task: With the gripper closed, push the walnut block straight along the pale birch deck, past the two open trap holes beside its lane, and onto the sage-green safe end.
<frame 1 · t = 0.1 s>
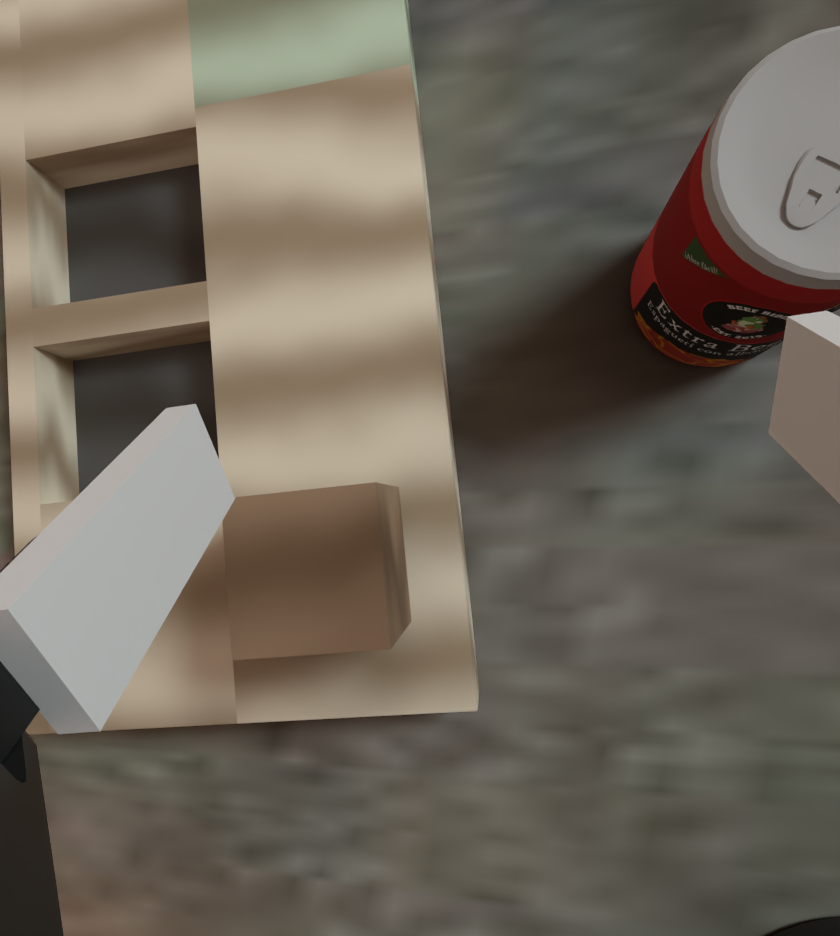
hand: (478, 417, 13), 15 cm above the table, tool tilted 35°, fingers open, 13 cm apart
walnut block: (340, 559, 26), point 3 cm above the table, touching trap deck
trap deck: (236, 320, 30), on the table
canned food: (707, 293, 27), on the table
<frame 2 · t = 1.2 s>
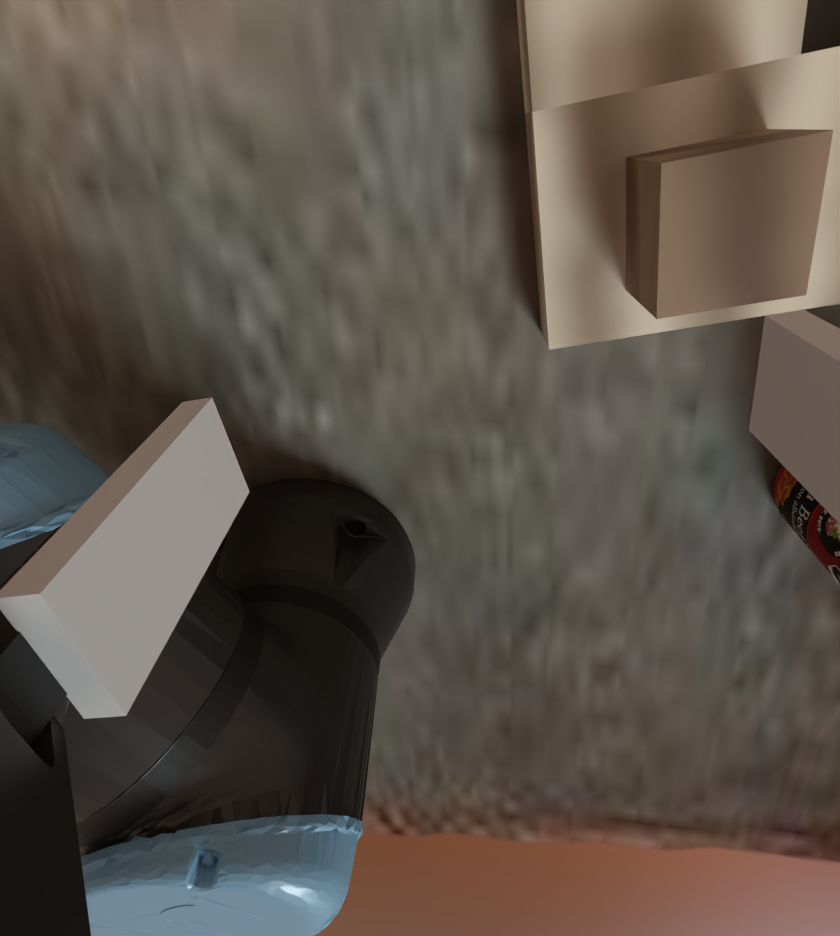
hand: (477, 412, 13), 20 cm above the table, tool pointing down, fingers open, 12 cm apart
walnut block: (691, 215, 27), point 3 cm above the table, touching trap deck
canned food: (830, 476, 37), on the table
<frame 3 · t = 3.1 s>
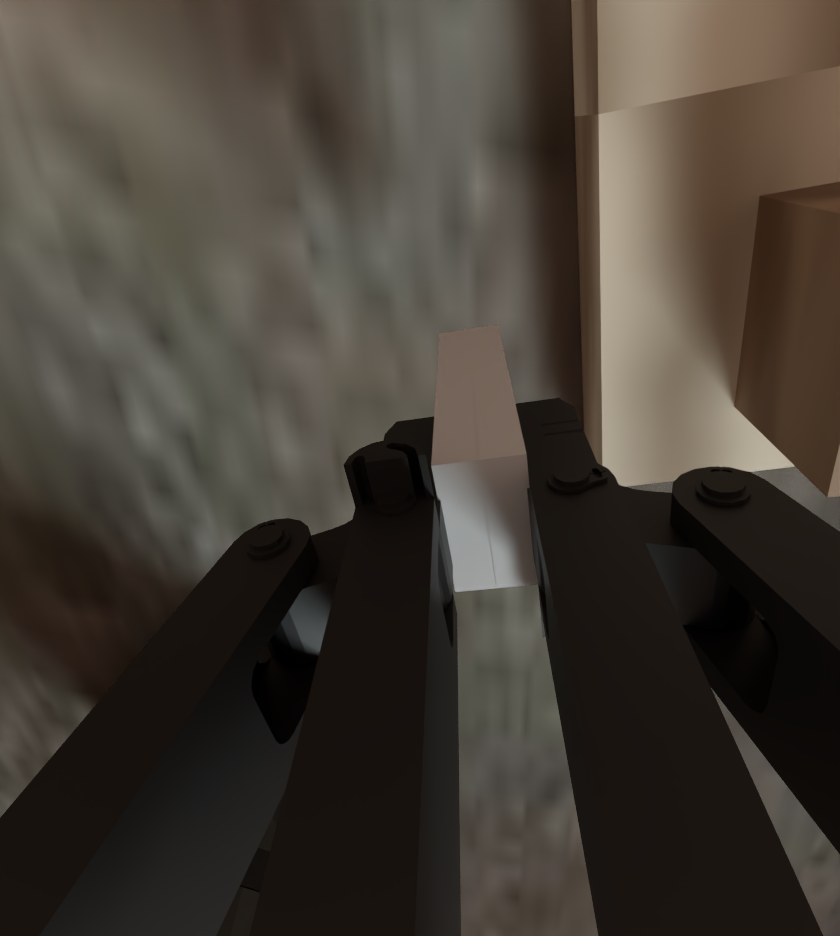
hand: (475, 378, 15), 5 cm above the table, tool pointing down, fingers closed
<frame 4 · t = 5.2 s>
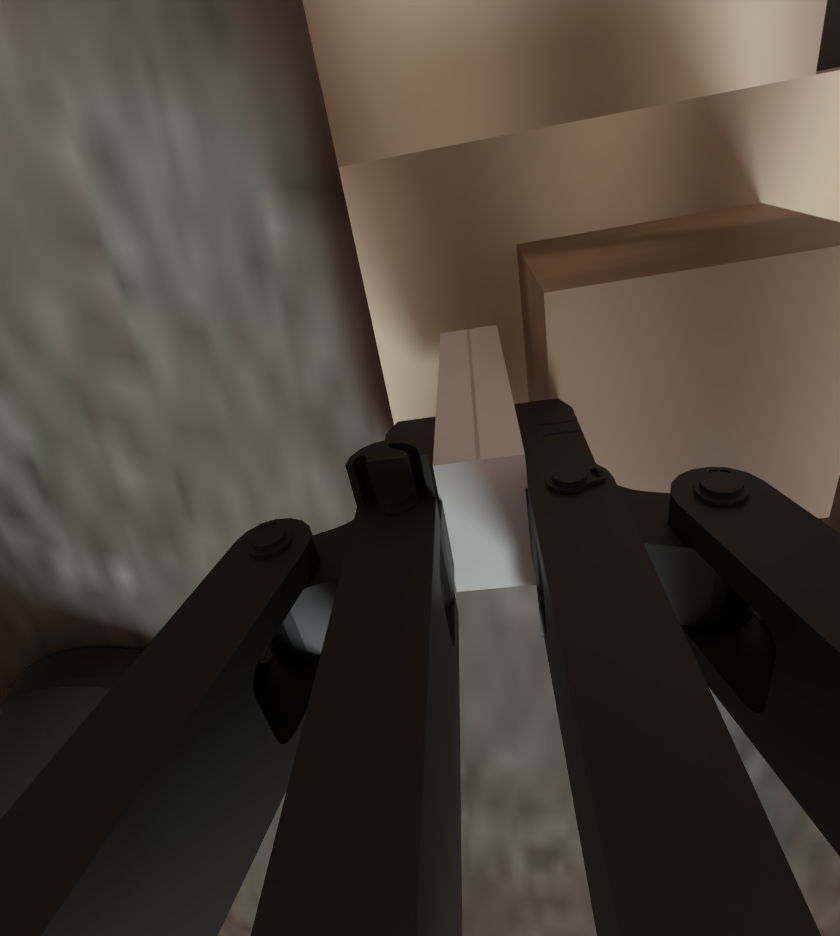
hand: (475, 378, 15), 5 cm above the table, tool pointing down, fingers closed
walnut block: (632, 337, 16), point 3 cm above the table, touching gripper, trap deck
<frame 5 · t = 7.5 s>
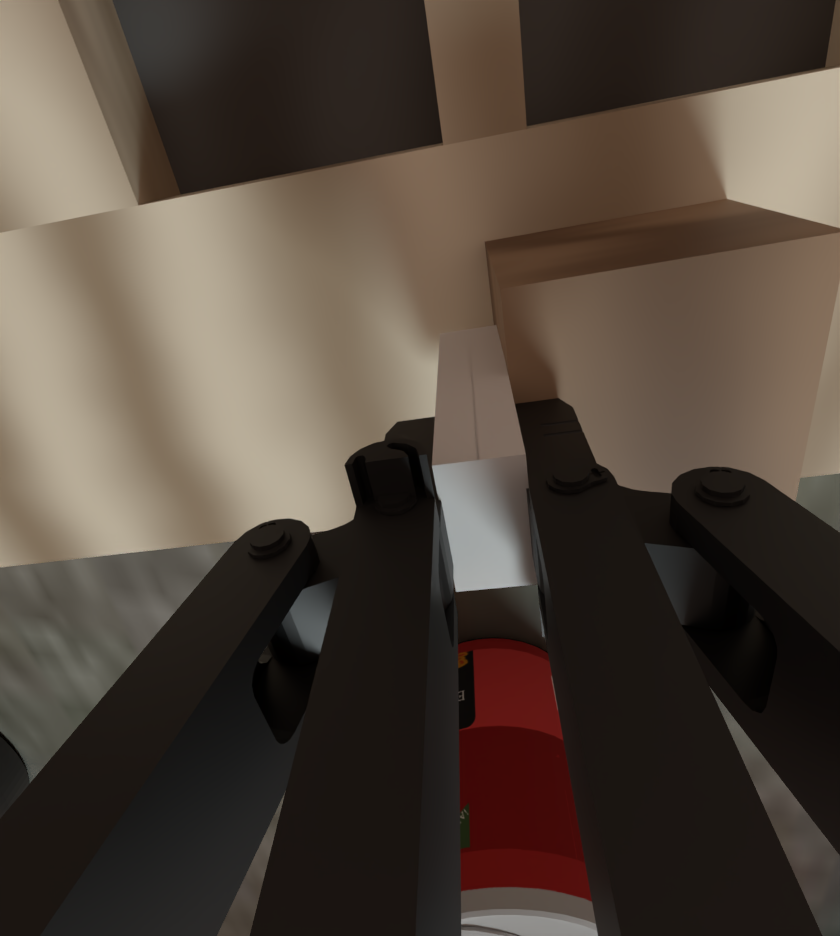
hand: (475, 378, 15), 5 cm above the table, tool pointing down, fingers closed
walnut block: (603, 334, 16), point 3 cm above the table, touching gripper, trap deck
trap deck: (479, 135, 16), on the table
canned food: (494, 683, 29), on the table
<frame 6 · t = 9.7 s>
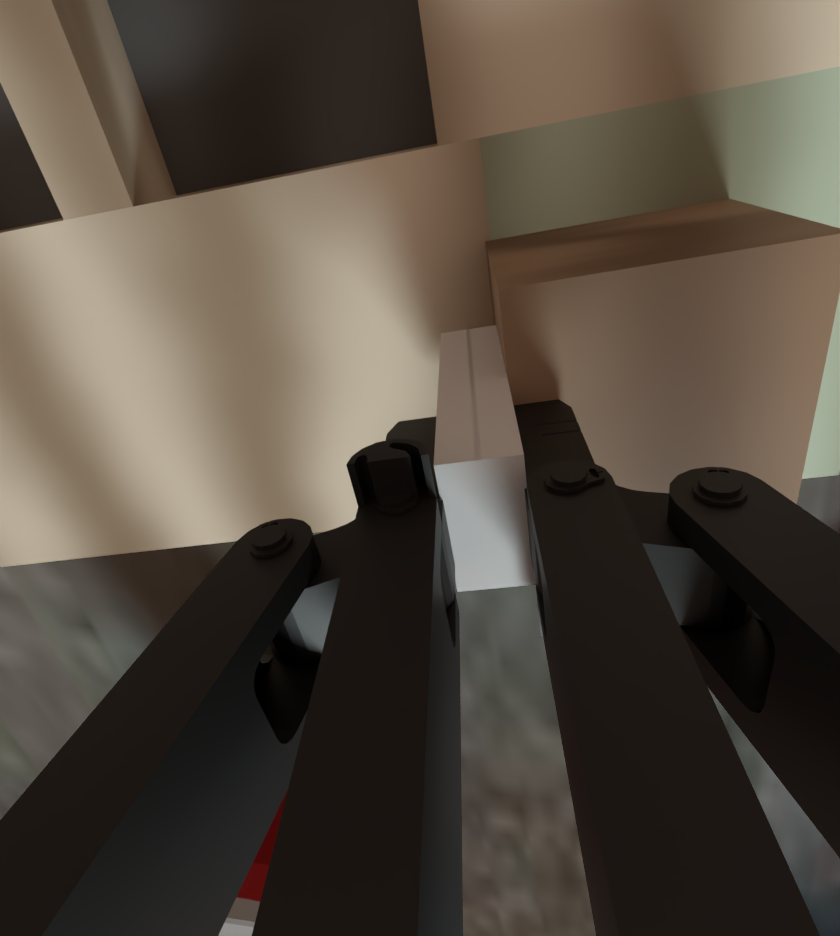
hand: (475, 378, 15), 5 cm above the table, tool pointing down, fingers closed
walnut block: (604, 334, 16), point 3 cm above the table, touching gripper, trap deck
trap deck: (150, 200, 17), on the table
canned food: (305, 697, 30), on the table
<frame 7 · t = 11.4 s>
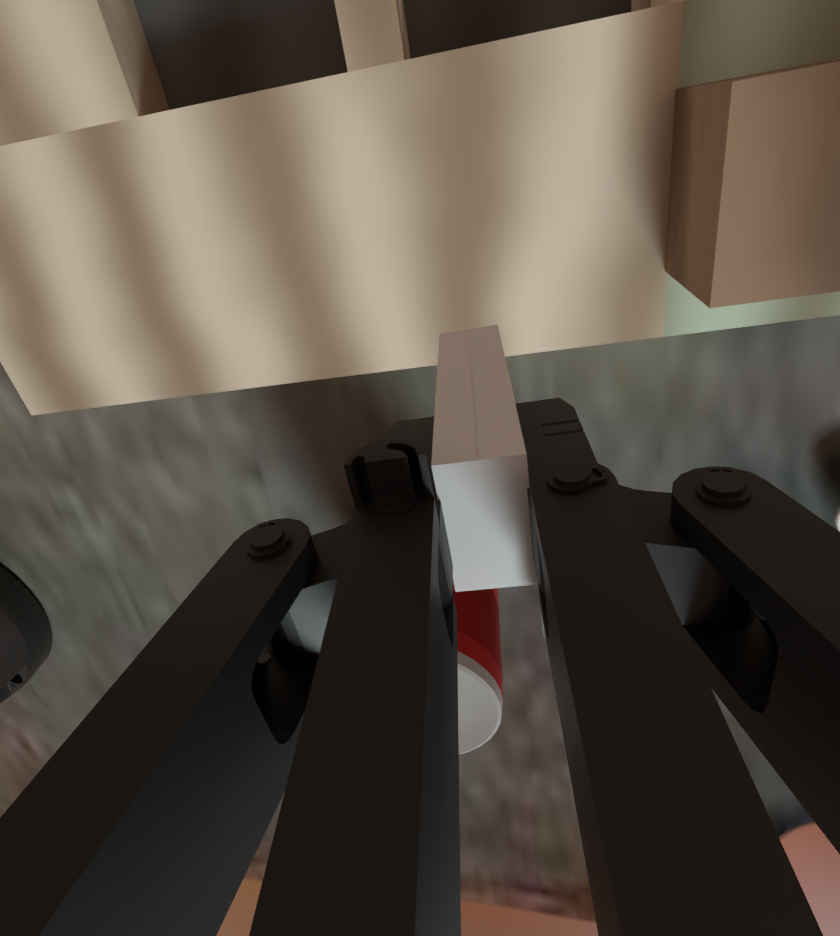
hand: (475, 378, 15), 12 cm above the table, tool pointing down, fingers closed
walnut block: (758, 172, 20), point 3 cm above the table, touching trap deck
trap deck: (387, 71, 22), on the table
canned food: (431, 548, 35), on the table
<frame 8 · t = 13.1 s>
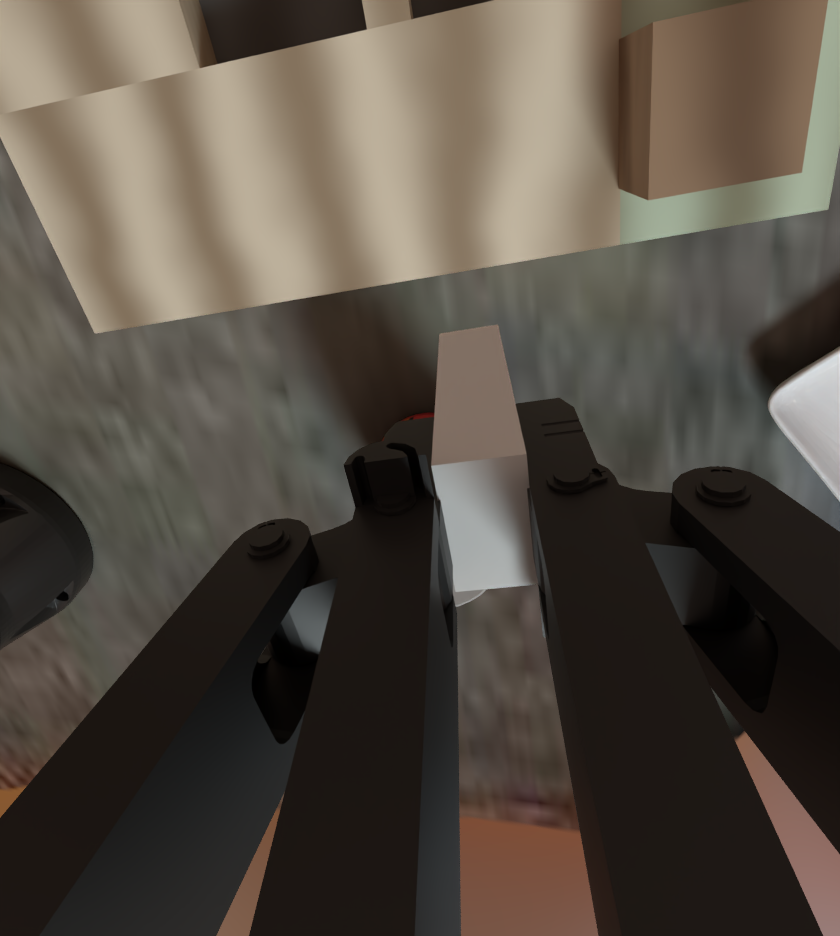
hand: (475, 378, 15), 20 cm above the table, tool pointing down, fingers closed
walnut block: (685, 104, 26), point 3 cm above the table, touching trap deck
trap deck: (394, 33, 28), on the table
canned food: (433, 456, 40), on the table
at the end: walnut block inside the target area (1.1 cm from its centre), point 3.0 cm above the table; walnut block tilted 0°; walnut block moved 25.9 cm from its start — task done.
